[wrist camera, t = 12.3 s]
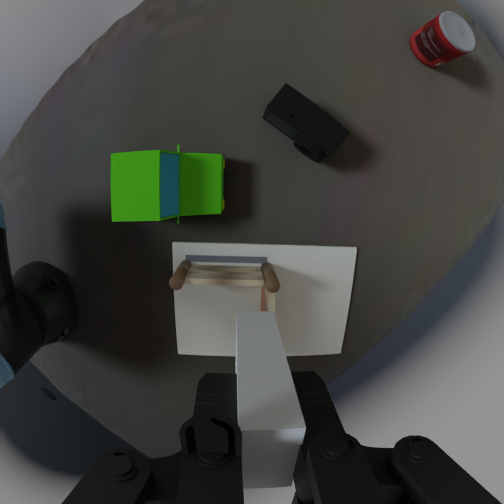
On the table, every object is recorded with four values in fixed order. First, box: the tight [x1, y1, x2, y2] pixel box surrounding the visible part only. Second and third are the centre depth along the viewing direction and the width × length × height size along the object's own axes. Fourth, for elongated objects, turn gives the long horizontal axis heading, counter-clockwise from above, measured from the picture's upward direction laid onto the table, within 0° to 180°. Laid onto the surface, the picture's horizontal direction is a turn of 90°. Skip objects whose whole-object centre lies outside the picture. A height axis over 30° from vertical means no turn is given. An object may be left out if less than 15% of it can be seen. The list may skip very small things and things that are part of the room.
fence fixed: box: [169, 260, 280, 293], centre depth 41 cm, size 14×2×8 cm, turn 88°
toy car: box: [111, 145, 225, 224], centre depth 37 cm, size 10×13×10 cm
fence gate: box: [265, 286, 275, 316], centre depth 43 cm, size 13×2×7 cm, turn 2°
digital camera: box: [263, 83, 350, 163], centre depth 38 cm, size 10×5×7 cm, turn 54°
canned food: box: [410, 11, 476, 67], centre depth 32 cm, size 8×8×11 cm
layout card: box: [172, 242, 357, 356], centre depth 46 cm, size 28×19×1 cm
